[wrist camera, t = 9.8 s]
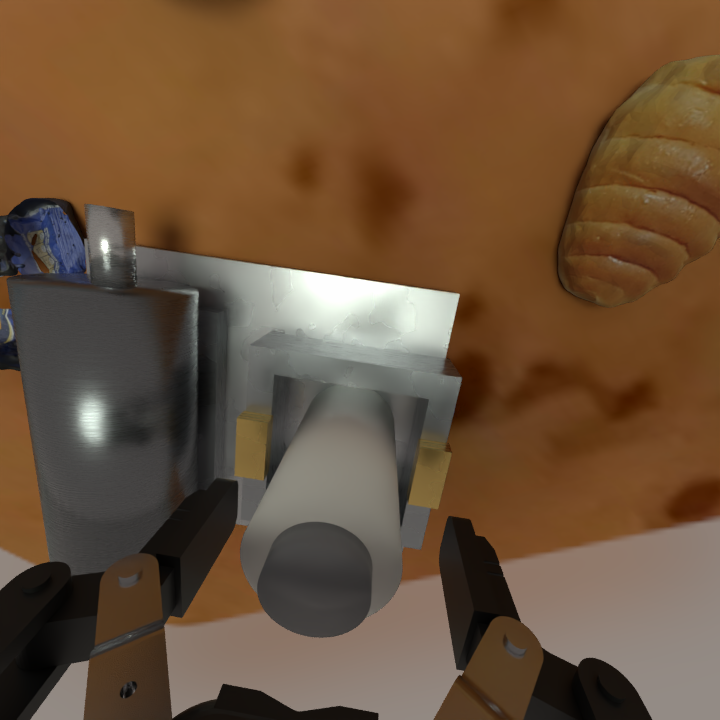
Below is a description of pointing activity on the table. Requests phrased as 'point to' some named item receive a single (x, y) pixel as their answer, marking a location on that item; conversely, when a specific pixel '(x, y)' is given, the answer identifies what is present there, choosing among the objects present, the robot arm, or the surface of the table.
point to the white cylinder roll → (329, 519)
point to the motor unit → (210, 382)
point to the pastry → (648, 188)
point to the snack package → (53, 246)
